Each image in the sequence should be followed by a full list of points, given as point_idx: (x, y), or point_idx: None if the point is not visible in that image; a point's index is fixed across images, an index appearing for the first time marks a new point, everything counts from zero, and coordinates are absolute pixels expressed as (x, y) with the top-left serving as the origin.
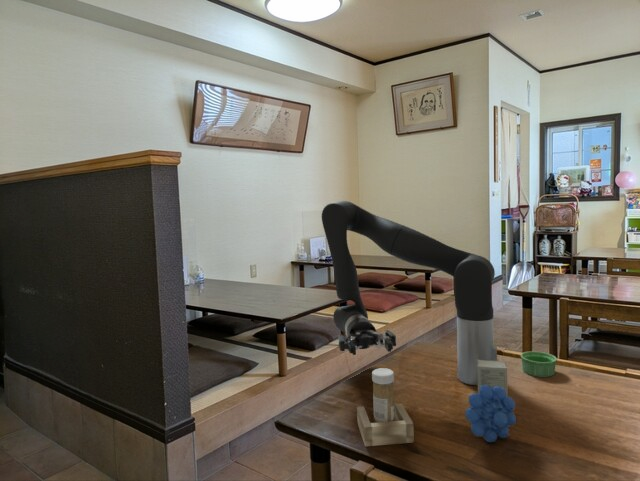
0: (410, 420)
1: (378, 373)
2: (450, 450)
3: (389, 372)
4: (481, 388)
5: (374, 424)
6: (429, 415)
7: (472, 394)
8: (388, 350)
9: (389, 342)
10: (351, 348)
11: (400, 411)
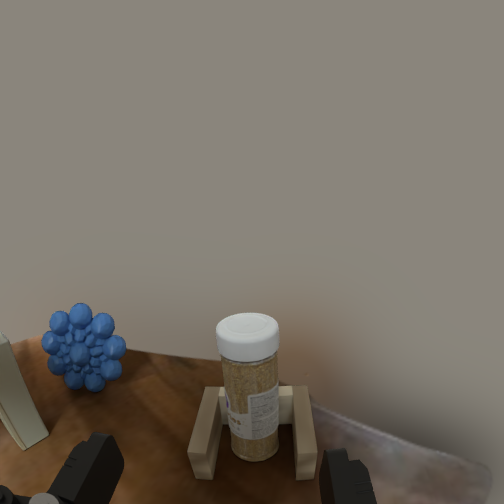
0: (205, 394)
1: (262, 317)
2: (165, 390)
3: (230, 319)
4: (87, 307)
5: (285, 391)
6: None
7: (105, 314)
8: (122, 457)
9: (94, 436)
10: (350, 463)
11: (209, 422)
